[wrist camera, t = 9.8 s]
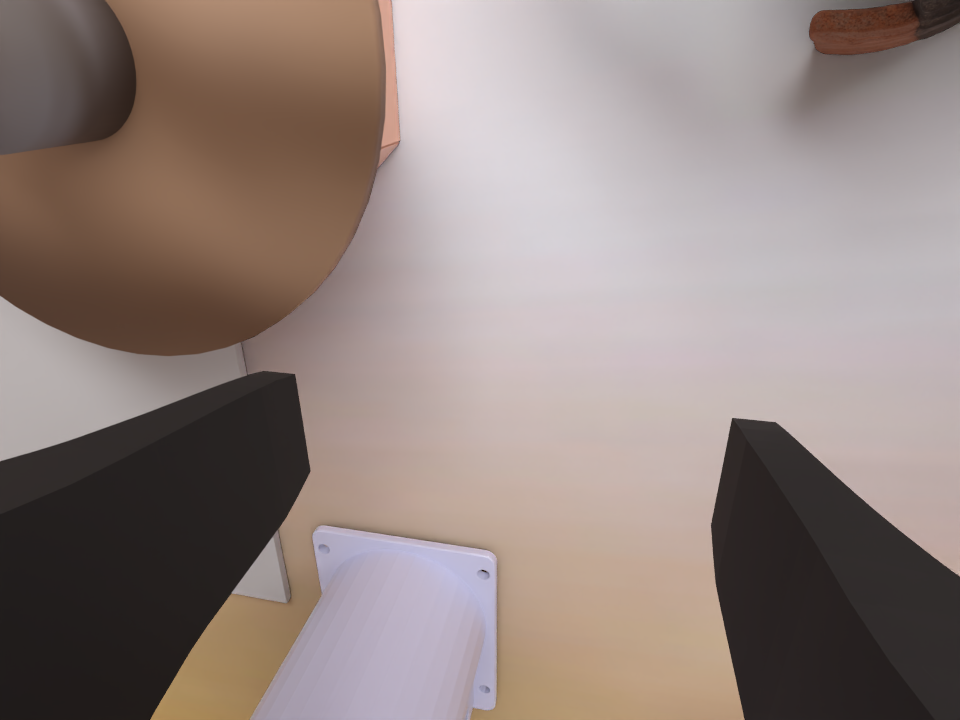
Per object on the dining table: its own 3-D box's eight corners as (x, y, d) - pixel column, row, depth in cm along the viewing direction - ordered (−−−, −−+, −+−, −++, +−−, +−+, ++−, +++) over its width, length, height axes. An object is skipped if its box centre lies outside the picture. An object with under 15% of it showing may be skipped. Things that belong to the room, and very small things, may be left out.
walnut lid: (398, 377, 16) (353, 438, 14) (-57, 317, 19) (-166, 358, 17) (366, -452, 10) (268, -640, 7) (-323, -360, 13) (-574, -471, 10)
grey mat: (291, 597, 29) (286, 603, 29) (13, 546, 32) (6, 552, 32) (227, 272, 22) (220, 275, 22) (-120, 249, 25) (-130, 252, 25)
